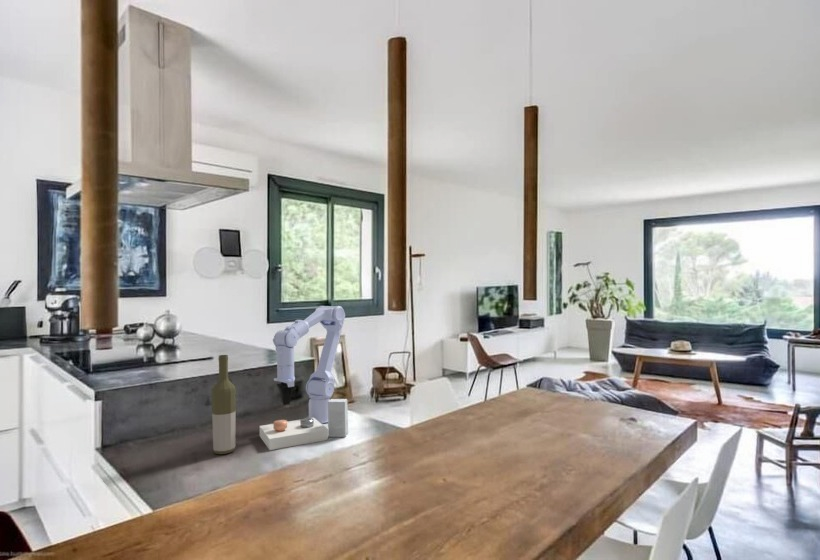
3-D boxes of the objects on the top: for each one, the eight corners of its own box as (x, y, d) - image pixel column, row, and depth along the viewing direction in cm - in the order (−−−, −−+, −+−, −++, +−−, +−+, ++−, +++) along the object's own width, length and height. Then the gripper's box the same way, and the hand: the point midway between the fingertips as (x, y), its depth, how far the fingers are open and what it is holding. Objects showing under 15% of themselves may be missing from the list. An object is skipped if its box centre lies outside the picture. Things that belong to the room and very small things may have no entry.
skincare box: (348, 433, 160) (347, 398, 160) (345, 437, 155) (345, 401, 156) (331, 433, 160) (330, 398, 160) (327, 437, 156) (327, 401, 156)
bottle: (207, 456, 140) (206, 357, 141) (218, 447, 147) (217, 353, 148) (230, 456, 140) (229, 357, 140) (240, 447, 147) (239, 353, 147)
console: (259, 436, 158) (259, 425, 158) (313, 427, 167) (313, 417, 168) (269, 450, 144) (269, 439, 144) (328, 439, 153) (327, 429, 154)
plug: (299, 434, 158) (298, 419, 158) (311, 432, 160) (311, 417, 160) (302, 438, 154) (302, 422, 154) (315, 436, 156) (315, 420, 156)
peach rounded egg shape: (272, 436, 154) (272, 421, 154) (285, 434, 156) (285, 419, 156) (275, 440, 150) (275, 424, 150) (288, 438, 152) (288, 422, 152)
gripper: (269, 363, 165) (269, 401, 164) (278, 369, 152) (279, 410, 152) (289, 361, 168) (289, 398, 168) (300, 367, 155) (300, 407, 155)
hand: (286, 404), depth 160 cm, fingers closed
